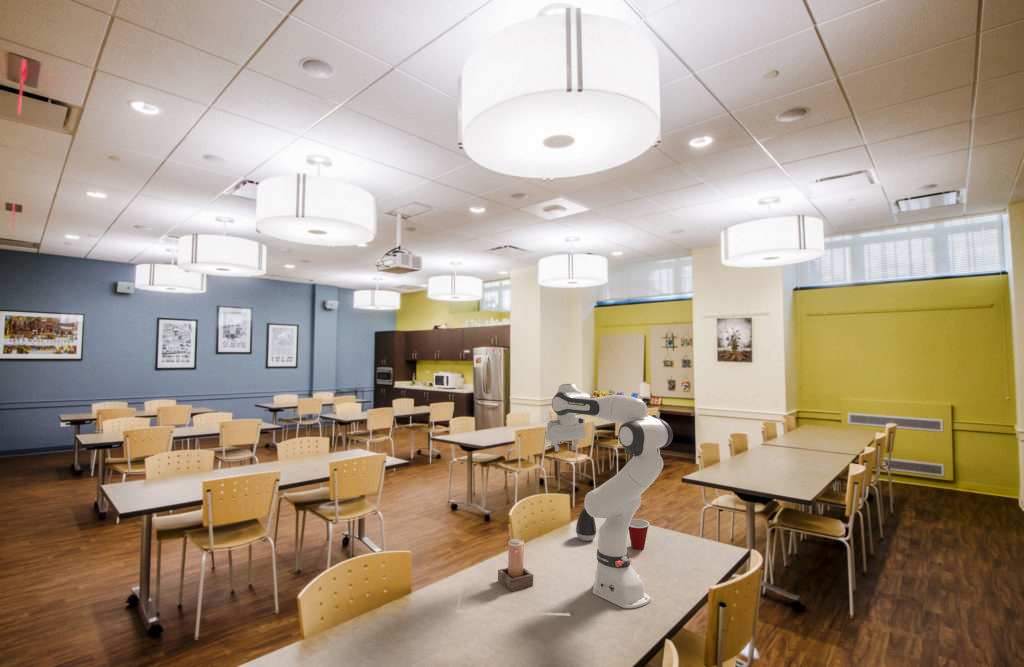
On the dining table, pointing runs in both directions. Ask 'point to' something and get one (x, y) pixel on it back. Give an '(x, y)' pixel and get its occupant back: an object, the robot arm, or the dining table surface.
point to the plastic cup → (638, 533)
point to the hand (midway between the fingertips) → (565, 450)
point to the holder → (515, 580)
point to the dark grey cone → (585, 526)
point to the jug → (515, 558)
